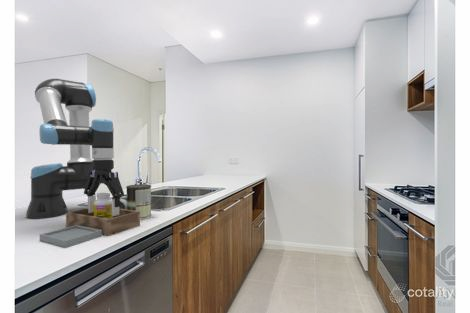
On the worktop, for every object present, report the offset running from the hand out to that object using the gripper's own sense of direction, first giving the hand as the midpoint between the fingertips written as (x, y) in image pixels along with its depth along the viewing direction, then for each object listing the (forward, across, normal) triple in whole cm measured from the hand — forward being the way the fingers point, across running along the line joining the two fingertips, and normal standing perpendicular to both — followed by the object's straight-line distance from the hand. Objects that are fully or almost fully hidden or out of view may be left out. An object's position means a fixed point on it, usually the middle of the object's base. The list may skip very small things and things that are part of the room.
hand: (103, 213), depth 98 cm
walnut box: (+5, 0, 0) cm, 5 cm away
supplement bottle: (+5, 0, 0) cm, 5 cm away
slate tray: (+5, +3, -14) cm, 15 cm away
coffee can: (+5, +2, +16) cm, 17 cm away
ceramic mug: (+5, -10, +14) cm, 18 cm away
